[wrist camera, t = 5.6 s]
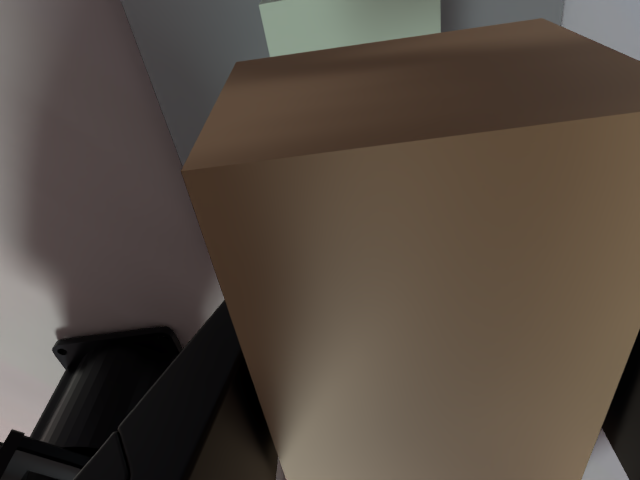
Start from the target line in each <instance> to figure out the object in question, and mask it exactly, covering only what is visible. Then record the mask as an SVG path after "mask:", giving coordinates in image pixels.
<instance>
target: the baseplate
mask: <svg viewBox="0 0 640 480" xmlns="http://www.w3.org/2000/svg"><path fill="white" fill-rule="evenodd" d="M121 3H122V5H123V8H124V11H125V13H126V16H127V19H128V21H129V24H130V27H131V30H132V32H133V35H134V38H135V40H136V43H137V46H138V48H139V51H140V54H141V56H142V59H143V62H144V64H145V67H146V70H147V73H148V75H149V78H150V81H151V83H152V86H153V89H154V91H155V94H156V97H157V99H158V102H159V105H160V107H161V110H162V113H163V115H164V118H165V121H166V124H167V126H168V129H169V132H170V134H171V137H172V140H173V142H174V145H175V148H176V150H177V153H178V156H179V158H180V161H181V164H182V166H184V164H185V162H186V160H187V158H188V156H189V154H190V152H191V150H192V148H193V146H194V144H195V142H196V140H197V138H198V136H199V134H200V132H201V130H202V128H203V126H204V124H205V122H206V120H207V118H208V117H209V115H210V113H211V111H212V109H213V107H214V105H215V103H216V101H217V99H218V97H219V95H220V93H221V91H222V89H223V87H224V85H225V83H226V81H227V79H228V77H229V75H230V73H231V71H232V69H233V67H234V65H235V63H236V62H239V61H246V60H253V59H260V58H267V57H274V56H281V55H288V54H295V53H302V52H309V51H316V50H323V49H330V48H337V47H344V46H351V45H358V44H365V43H372V42H379V41H386V40H393V39H400V38H407V37H414V36H421V35H428V34H435V33H442V32H449V31H456V30H463V29H470V28H477V27H484V26H491V25H497V24H504V23H511V22H518V21H525V20H532V19H539V18H543V19H545V20H548V21H550V22H552V23H554V24H557V25H559V26H561V20H562V13H563V5H564V0H121Z"/></svg>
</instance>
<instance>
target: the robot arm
mask: <svg viewBox="0 0 640 480" xmlns="http://www.w3.org/2000/svg"><path fill="white" fill-rule="evenodd" d="M164 336H165V337H164ZM52 351H53V353H54V355H55V356H56V357H57V359H58V360H59V361H60V363H61V364H62V365H63V367H64V368H65V369H66V371H65V372H64V374H63V376H62V378H61V380H60V382H59V384H58V385H57V387H56V389H55V391H54V393H53V395H52V397H51V398H50V400H49V402H48V404H47V406H46V408H45V410H44V411H43V413H42V415H41V417H40V419H39V421H38V423H37V424H36V426H35V428H34V430H33V432H32V434H31V436H30V437H27V436H24V434H25V433H23V432H19V431H16V430H13V429H12V430H11V432H10V433H9V435H8V437H7V438H6V440H5V442H4V443H2V442H0V480H276V471H277V461H278V454H277V451H276V449H275V446H274V443H273V440H272V437H271V434H270V431H269V428H268V425H267V422H266V419H265V416H264V413H263V410H262V408H261V405H260V402H259V399H258V396H257V393H256V390H255V387H254V384H253V381H252V378H251V375H250V372H249V369H248V366H247V364H246V361H245V358H244V355H243V352H242V349H241V346H240V343H239V340H238V337H237V334H236V331H235V328H234V325H233V323H232V320H231V317H230V314H229V311H228V308H227V305H226V302H225V300H224V301H223V302H222V303H221V305H220V306H219V307H218V308H217V309H216V311H215V312H214V313H213V314H212V315H211V317H210V318H209V319H208V320H207V321H206V323H205V324H204V325H203V326H202V327H201V329H200V330H199V331H198V332H197V333H196V335H195V336H194V337H193V338H192V339H191V340H190V342H189V343H188V344H187V345H186V346H185V348H184V349H182V347H181V345H180V343H179V341H178V339H177V337H176V335H175V333H174V332H173V330H172V329H170V328H168V327H155V328H148V329H140V330H132V331H124V332H117V333H109V334H101V335H93V336H86V337H78V338H70V339H62V340H58V341H57V342H56V343H55V345H54V347H53V349H52ZM602 429H603V431H604V433H605V435H606V437H607V438H608V440H609V442H610V444H611V446H612V448H613V450H614V452H615V453H616V455H617V457H618V459H619V461H620V463H621V465H622V467H623V468H624V470H625V472H626V474H627V476H628V478H629V480H640V329H639V332H638V334H637V337H636V340H635V342H634V345H633V347H632V350H631V353H630V355H629V358H628V360H627V363H626V365H625V368H624V371H623V373H622V376H621V378H620V381H619V383H618V386H617V389H616V391H615V394H614V396H613V399H612V401H611V404H610V407H609V409H608V412H607V414H606V417H605V419H604V422H603V425H602Z"/></svg>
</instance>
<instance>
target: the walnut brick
mask: <svg viewBox="0 0 640 480" xmlns="http://www.w3.org/2000/svg"><path fill="white" fill-rule="evenodd" d="M181 173H182V176H183V179H184V182H185V185H186V188H187V191H188V194H189V197H190V199H191V202H192V205H193V208H194V211H195V214H196V217H197V220H198V223H199V226H200V229H201V232H202V235H203V238H204V240H205V243H206V246H207V249H208V252H209V255H210V258H211V261H212V264H213V267H214V270H215V273H216V276H217V279H218V282H219V284H220V287H221V290H222V293H223V296H224V299H225V302H226V305H227V308H228V311H229V314H230V317H231V320H232V323H233V325H234V328H235V331H236V334H237V337H238V340H239V343H240V346H241V349H242V352H243V355H244V358H245V361H246V364H247V366H248V369H249V372H250V375H251V378H252V381H253V384H254V387H255V390H256V393H257V396H258V399H259V402H260V405H261V408H262V410H263V413H264V416H265V419H266V422H267V425H268V428H269V431H270V434H271V437H272V440H273V443H274V446H275V449H276V451H277V454H278V457H279V460H280V463H281V466H282V469H283V472H284V475H285V478H286V480H581V479H582V476H583V474H584V471H585V468H586V466H587V463H588V461H589V458H590V456H591V453H592V450H593V448H594V445H595V443H596V440H597V438H598V435H599V432H600V430H601V427H602V425H603V422H604V419H605V417H606V414H607V412H608V409H609V407H610V404H611V401H612V399H613V396H614V394H615V391H616V389H617V386H618V383H619V381H620V378H621V376H622V373H623V371H624V368H625V365H626V363H627V360H628V358H629V355H630V353H631V350H632V347H633V345H634V342H635V340H636V337H637V334H638V332H639V329H640V61H638V60H636V59H634V58H631V57H629V56H627V55H625V54H622V53H620V52H618V51H616V50H613V49H611V48H609V47H607V46H604V45H602V44H600V43H597V42H595V41H593V40H591V39H588V38H586V37H584V36H582V35H579V34H577V33H575V32H573V31H570V30H568V29H566V28H564V27H561V26H559V25H557V24H554V23H552V22H550V21H548V20H545V19H543V18H539V19H532V20H525V21H518V22H511V23H504V24H497V25H491V26H484V27H477V28H470V29H463V30H456V31H449V32H442V33H435V34H428V35H421V36H414V37H407V38H400V39H393V40H386V41H379V42H372V43H365V44H358V45H351V46H344V47H337V48H330V49H323V50H316V51H309V52H302V53H295V54H288V55H281V56H274V57H267V58H260V59H253V60H246V61H239V62H236V63H235V65H234V67H233V69H232V71H231V73H230V75H229V77H228V79H227V81H226V83H225V85H224V87H223V89H222V91H221V93H220V95H219V97H218V99H217V101H216V103H215V105H214V107H213V109H212V111H211V113H210V115H209V117H208V118H207V120H206V122H205V124H204V126H203V128H202V130H201V132H200V134H199V136H198V138H197V140H196V142H195V144H194V146H193V148H192V150H191V152H190V154H189V156H188V158H187V160H186V162H185V164H184V166H183V168H182V170H181Z"/></svg>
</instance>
